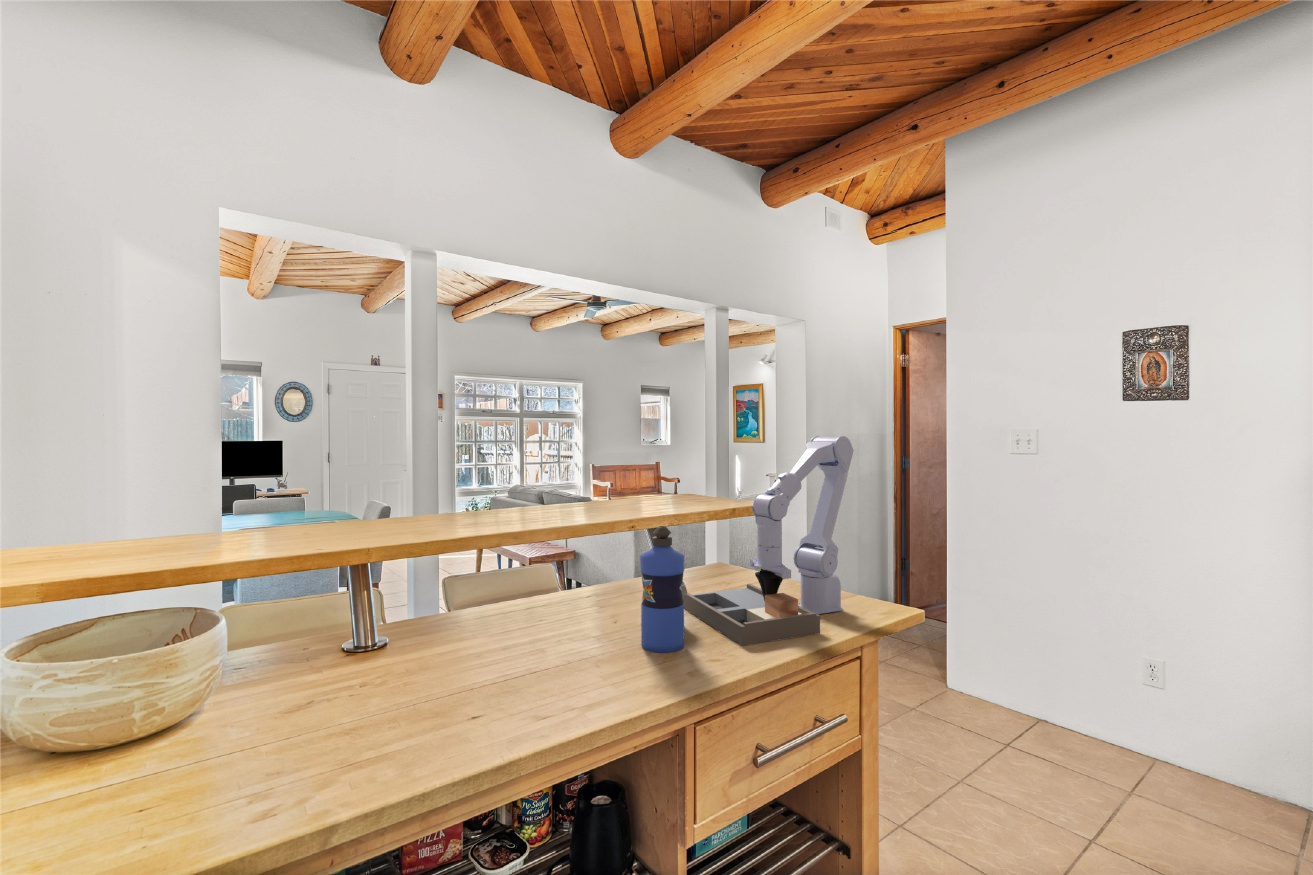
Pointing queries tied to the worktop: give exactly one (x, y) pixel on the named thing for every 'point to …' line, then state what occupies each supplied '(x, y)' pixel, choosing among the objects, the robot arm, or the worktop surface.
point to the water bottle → (662, 595)
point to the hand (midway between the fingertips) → (769, 602)
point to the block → (781, 605)
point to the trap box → (749, 616)
